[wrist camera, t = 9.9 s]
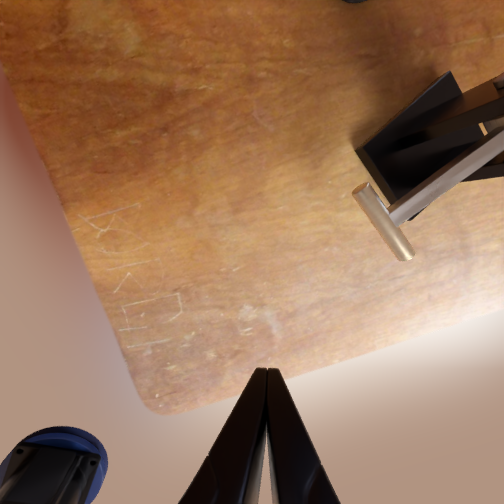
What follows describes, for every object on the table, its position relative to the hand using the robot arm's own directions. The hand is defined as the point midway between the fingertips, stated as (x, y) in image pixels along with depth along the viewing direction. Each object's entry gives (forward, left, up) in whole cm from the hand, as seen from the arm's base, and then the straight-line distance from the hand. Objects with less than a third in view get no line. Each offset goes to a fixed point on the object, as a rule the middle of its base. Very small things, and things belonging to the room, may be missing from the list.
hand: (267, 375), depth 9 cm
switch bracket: (+17, -11, -13) cm, 24 cm away
